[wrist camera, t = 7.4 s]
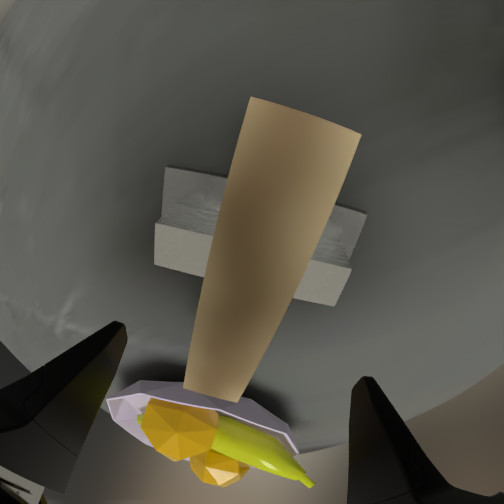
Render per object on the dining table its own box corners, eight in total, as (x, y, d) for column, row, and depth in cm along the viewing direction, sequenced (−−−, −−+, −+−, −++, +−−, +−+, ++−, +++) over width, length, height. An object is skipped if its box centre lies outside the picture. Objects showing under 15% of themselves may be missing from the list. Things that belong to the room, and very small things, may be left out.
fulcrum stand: (365, 211, 18) (382, 237, 14) (328, 299, 22) (333, 334, 18) (168, 165, 18) (142, 180, 14) (162, 260, 22) (142, 289, 18)
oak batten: (339, 127, 12) (361, 134, 8) (244, 361, 21) (237, 402, 17) (260, 101, 12) (250, 96, 8) (196, 347, 21) (182, 387, 17)
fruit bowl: (128, 411, 40) (109, 459, 30) (119, 323, 27) (72, 404, 17) (269, 451, 42) (264, 501, 32) (349, 390, 28) (357, 473, 19)
